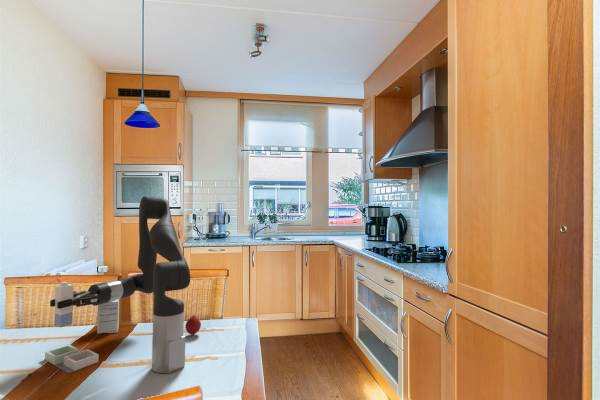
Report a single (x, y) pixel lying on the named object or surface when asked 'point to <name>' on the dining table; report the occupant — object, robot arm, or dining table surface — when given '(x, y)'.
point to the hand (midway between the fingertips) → (54, 304)
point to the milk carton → (65, 314)
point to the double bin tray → (71, 358)
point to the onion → (193, 325)
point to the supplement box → (108, 317)
